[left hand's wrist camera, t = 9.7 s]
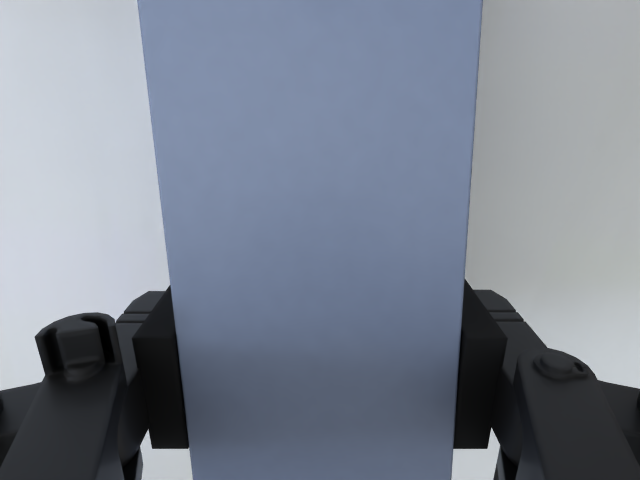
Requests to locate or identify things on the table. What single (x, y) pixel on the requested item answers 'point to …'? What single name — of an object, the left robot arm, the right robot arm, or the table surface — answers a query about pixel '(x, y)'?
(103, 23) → the table surface
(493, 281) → the table surface
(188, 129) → the blue-grey rectangular block
